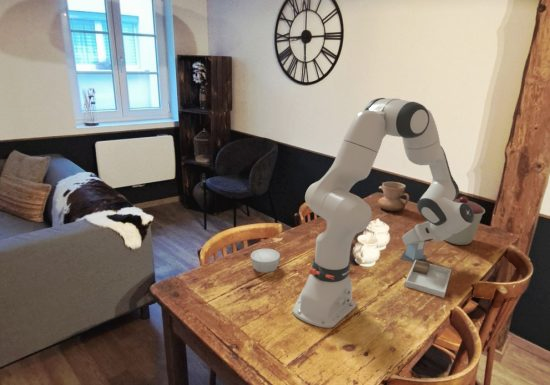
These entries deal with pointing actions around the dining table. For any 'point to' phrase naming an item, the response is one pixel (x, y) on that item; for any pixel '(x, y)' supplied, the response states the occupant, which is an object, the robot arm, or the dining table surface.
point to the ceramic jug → (392, 196)
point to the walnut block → (421, 267)
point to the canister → (469, 232)
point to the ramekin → (265, 260)
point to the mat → (411, 259)
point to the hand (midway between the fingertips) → (415, 241)
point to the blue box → (415, 251)
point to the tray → (429, 280)
